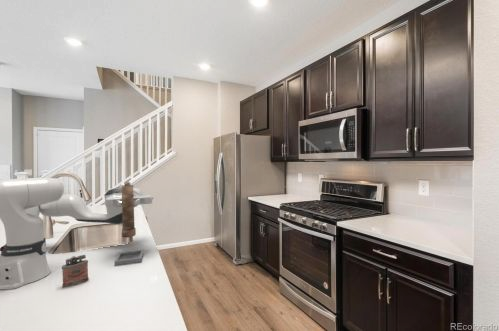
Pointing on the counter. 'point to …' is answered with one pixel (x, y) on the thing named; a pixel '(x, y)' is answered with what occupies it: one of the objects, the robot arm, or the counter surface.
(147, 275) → the counter surface
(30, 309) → the counter surface
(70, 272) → the lighter
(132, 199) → the pepper mill
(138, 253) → the tray
